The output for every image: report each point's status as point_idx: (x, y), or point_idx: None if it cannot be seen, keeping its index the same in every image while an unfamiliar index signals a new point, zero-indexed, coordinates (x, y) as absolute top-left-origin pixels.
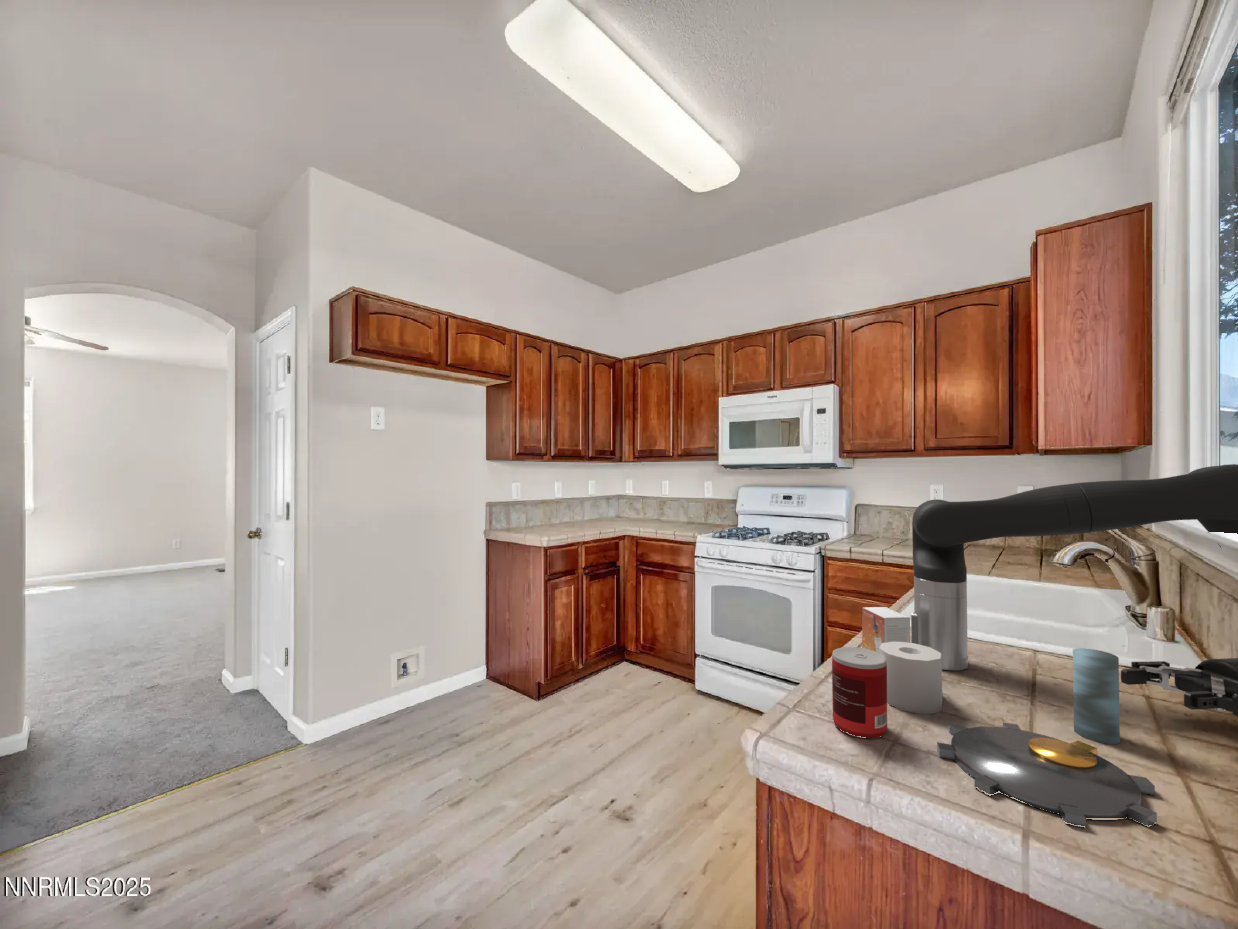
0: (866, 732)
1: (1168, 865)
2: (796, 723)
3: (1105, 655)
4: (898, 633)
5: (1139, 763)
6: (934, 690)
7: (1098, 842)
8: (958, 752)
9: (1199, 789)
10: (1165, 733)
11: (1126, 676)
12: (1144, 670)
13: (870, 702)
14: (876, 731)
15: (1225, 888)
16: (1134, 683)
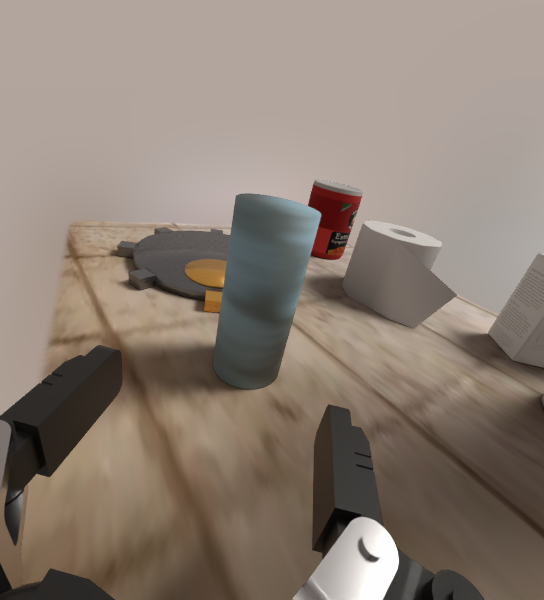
0: None
1: (103, 233)
2: None
3: (264, 203)
4: (537, 290)
5: (165, 330)
6: (353, 265)
7: (143, 232)
8: None
9: (87, 320)
10: (183, 516)
11: (324, 420)
12: (335, 496)
13: None
14: None
15: (70, 232)
16: (315, 475)
